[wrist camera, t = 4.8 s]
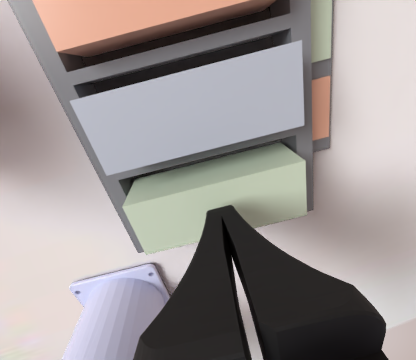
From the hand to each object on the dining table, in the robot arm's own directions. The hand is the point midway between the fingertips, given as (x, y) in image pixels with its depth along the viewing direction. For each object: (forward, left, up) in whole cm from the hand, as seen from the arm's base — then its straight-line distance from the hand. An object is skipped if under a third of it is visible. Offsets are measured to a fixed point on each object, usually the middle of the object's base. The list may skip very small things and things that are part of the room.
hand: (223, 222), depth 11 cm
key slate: (+5, 0, -4) cm, 7 cm away
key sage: (0, 0, -5) cm, 5 cm away
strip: (+5, -8, -6) cm, 11 cm away
